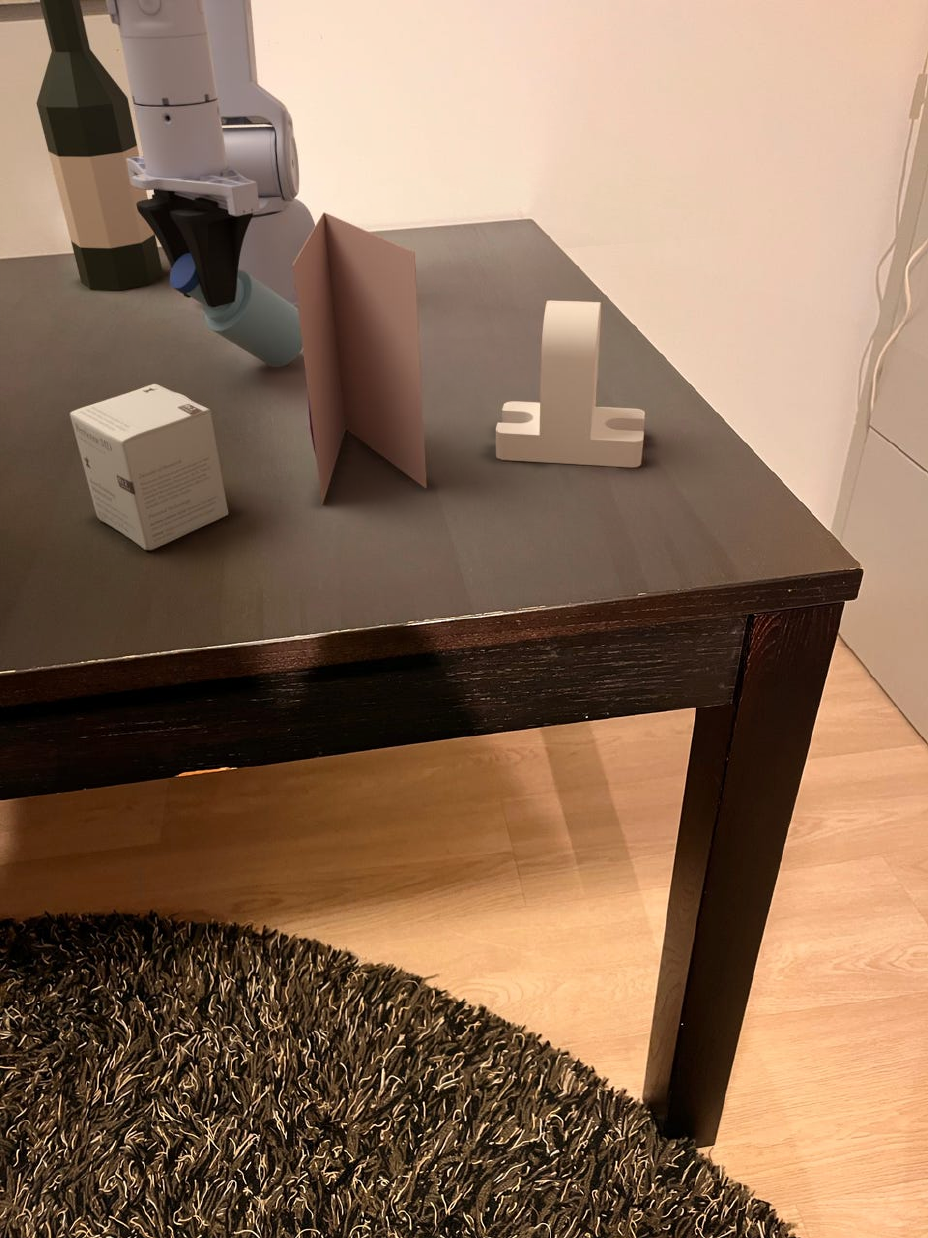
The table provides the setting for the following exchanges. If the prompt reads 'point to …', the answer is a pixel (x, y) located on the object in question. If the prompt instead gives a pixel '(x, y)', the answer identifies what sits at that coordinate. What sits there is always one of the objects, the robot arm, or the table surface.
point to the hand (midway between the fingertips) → (209, 298)
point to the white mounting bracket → (570, 401)
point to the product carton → (151, 464)
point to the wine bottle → (93, 158)
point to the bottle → (247, 315)
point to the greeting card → (360, 345)
